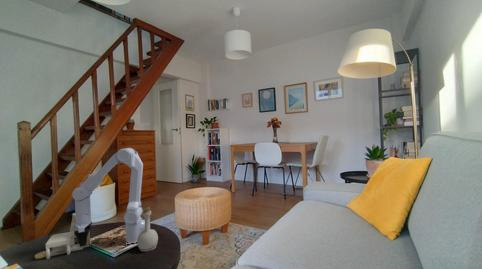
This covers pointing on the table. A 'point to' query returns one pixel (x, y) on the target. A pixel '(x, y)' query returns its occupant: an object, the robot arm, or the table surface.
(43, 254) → the token
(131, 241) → the robot arm
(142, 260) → the table surface
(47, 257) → the white toy table
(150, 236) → the potion bottle
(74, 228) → the stone
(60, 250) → the blade tool
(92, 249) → the table surface
